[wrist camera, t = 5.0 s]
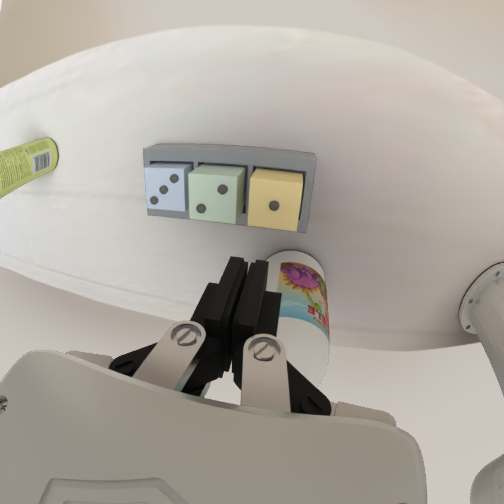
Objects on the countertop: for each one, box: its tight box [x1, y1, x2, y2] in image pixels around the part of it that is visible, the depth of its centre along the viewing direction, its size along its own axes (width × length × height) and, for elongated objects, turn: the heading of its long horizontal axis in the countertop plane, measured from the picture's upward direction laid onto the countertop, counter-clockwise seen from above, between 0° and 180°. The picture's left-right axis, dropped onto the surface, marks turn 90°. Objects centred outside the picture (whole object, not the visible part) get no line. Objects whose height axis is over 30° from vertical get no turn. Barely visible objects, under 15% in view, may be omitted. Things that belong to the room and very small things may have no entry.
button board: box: [143, 144, 316, 233], centre depth 26 cm, size 16×7×3 cm, turn 86°
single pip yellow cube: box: [248, 168, 303, 232], centre depth 23 cm, size 4×4×4 cm
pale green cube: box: [188, 164, 246, 224], centre depth 23 cm, size 4×4×4 cm
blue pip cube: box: [144, 161, 194, 212], centre depth 25 cm, size 4×4×4 cm
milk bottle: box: [266, 251, 329, 388], centre depth 23 cm, size 8×8×20 cm
